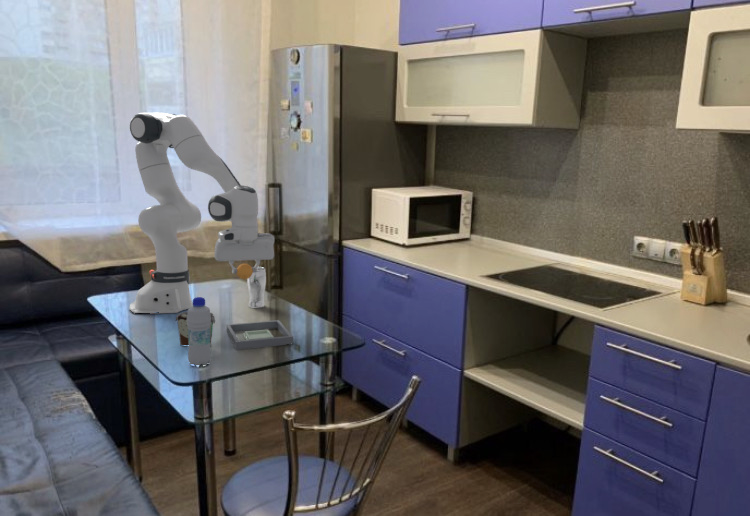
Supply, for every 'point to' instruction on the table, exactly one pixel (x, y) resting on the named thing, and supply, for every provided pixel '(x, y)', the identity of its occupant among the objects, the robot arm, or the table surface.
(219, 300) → the table surface
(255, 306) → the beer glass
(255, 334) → the resting pad
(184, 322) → the food container
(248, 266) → the ball
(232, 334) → the low wall pen
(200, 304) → the bottle
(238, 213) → the robot arm
